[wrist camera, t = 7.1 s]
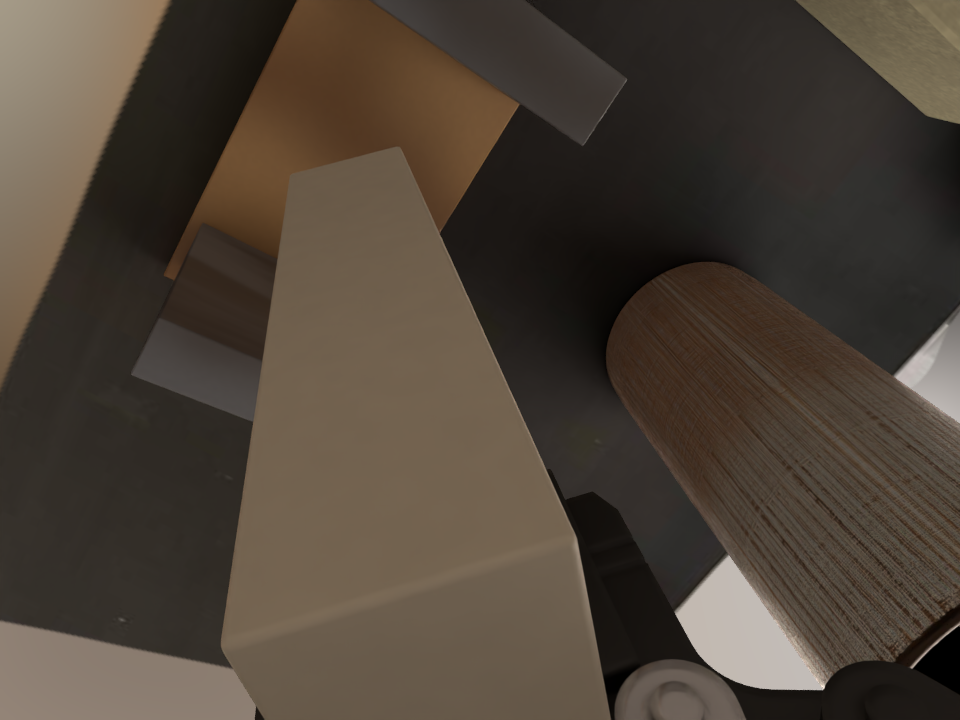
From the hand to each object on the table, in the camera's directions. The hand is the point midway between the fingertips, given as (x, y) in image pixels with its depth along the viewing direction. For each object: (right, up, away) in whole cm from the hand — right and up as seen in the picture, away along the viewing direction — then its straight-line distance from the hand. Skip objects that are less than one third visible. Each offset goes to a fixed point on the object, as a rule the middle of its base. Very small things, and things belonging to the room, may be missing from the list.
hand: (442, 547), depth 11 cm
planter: (+12, +4, +30) cm, 33 cm away
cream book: (-1, +3, +6) cm, 7 cm away
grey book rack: (-5, +12, +21) cm, 25 cm away
